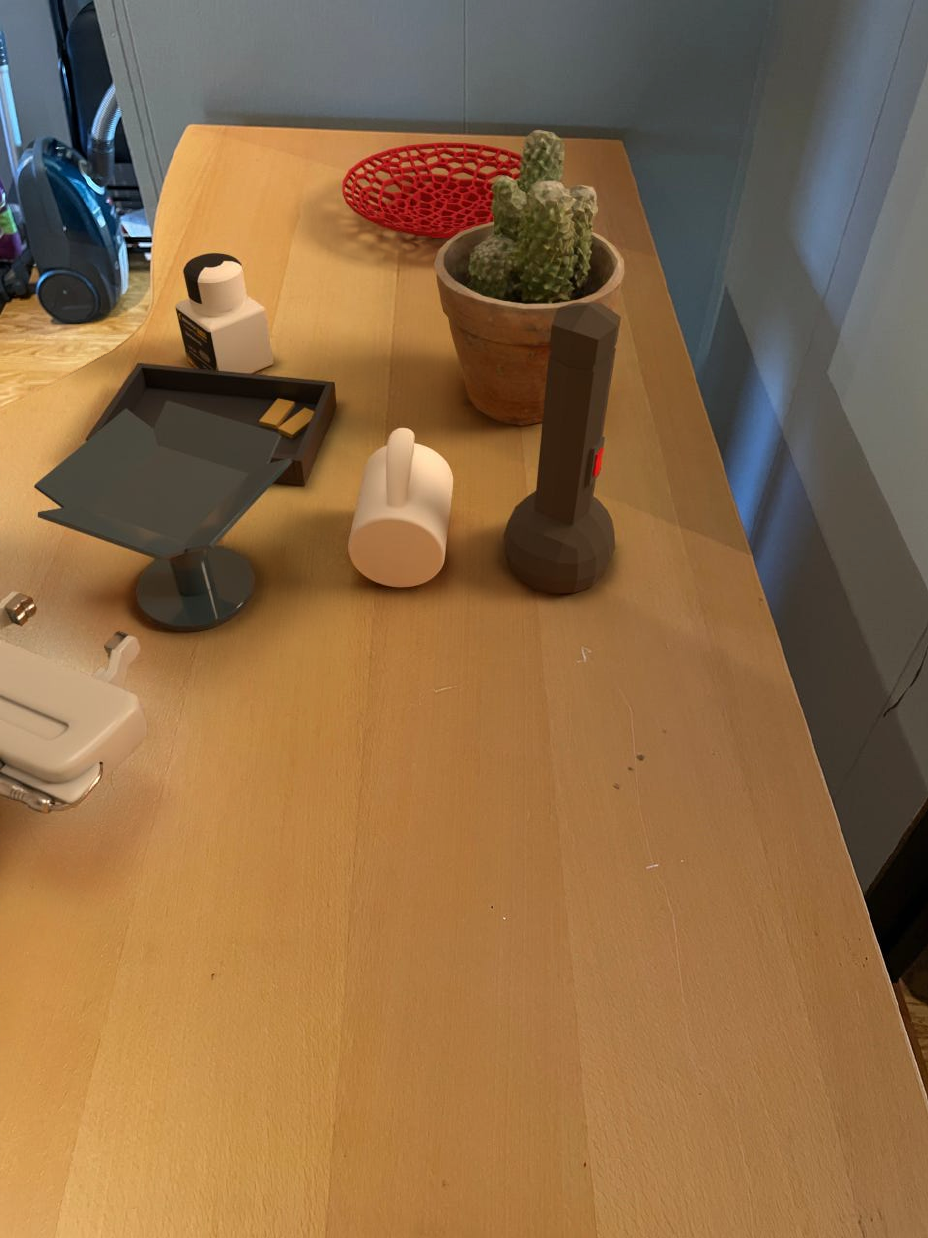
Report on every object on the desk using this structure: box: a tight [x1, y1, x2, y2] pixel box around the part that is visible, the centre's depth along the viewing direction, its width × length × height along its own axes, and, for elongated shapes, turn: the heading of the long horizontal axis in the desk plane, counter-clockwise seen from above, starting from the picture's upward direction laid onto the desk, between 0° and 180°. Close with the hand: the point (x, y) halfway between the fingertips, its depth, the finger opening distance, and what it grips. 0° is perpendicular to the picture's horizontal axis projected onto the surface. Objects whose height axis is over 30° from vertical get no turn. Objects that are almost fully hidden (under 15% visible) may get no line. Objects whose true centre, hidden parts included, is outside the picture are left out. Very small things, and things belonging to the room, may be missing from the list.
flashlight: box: [503, 303, 622, 595], centre depth 76 cm, size 10×25×10 cm
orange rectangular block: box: [259, 398, 295, 429], centre depth 98 cm, size 4×2×1 cm, turn 161°
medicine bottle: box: [174, 252, 274, 374], centre depth 101 cm, size 7×7×12 cm
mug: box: [347, 427, 454, 588], centre depth 81 cm, size 8×10×12 cm
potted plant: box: [433, 129, 626, 427], centre depth 93 cm, size 18×19×25 cm
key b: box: [278, 408, 314, 439], centre depth 97 cm, size 4×2×1 cm, turn 147°
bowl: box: [341, 141, 522, 239], centre depth 129 cm, size 29×30×5 cm
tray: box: [85, 362, 338, 487], centre depth 96 cm, size 22×14×3 cm, turn 82°
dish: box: [33, 401, 292, 633], centre depth 77 cm, size 16×16×13 cm
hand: (77, 619), depth 68 cm, fingers open, 8 cm apart
